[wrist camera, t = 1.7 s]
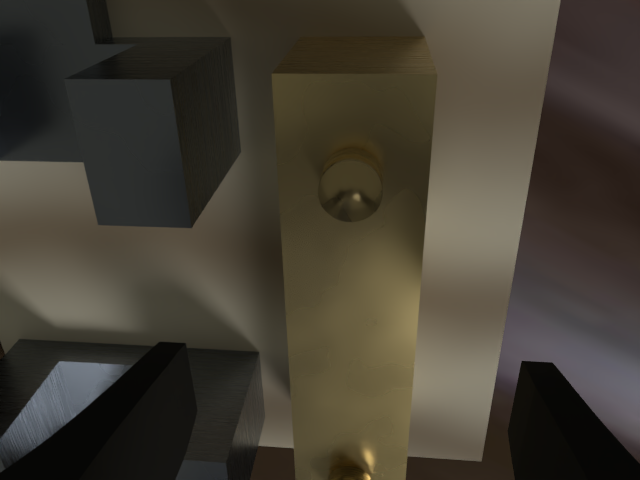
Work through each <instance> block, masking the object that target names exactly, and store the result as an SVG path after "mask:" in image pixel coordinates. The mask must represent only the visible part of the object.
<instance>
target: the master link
mask: <svg viewBox="0 0 640 480" xmlns="http://www.w3.org/2000/svg"><path fill="white" fill-rule="evenodd" d="M271 75H272V92H273V108H274V125H275V142H276V158H277V175H278V192H279V208H280V225H281V242H282V258H283V275H284V292H285V308H286V325H287V342H288V359H289V375H290V392H291V409H292V425H293V442H294V459H295V475H296V480H405V478H406V466H407V453H408V440H409V428H410V415H411V403H412V390H413V377H414V365H415V352H416V339H417V327H418V314H419V301H420V289H421V276H422V264H423V251H424V238H425V226H426V213H427V200H428V188H429V175H430V163H431V150H432V137H433V125H434V112H435V99H436V87H437V71H436V68H435V65H434V62H433V60H432V57H431V54H430V51H429V48H428V45H427V42H426V39H425V36H384V37H300V38H299V39H298V41H297V42H296V43H295V44H294V46H293V47H292V48H291V49H290V51H289V52H288V53H287V55H286V56H285V57H284V58H283V60H282V61H281V62H280V63H279V65H278V66H277V67H276V68H275V70H274V71H273V72H272V74H271Z"/></svg>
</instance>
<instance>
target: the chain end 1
mask: <svg viewBox="0 0 640 480" xmlns="http://www.w3.org/2000/svg"><path fill="white" fill-rule="evenodd" d="M240 153H241V145H240V134H239V123H238V112H237V101H236V90H235V79H234V68H233V58H232V47H231V37H113V36H112V30H111V25H110V19H109V14H108V9H107V3H106V0H0V161H39V162H83V163H84V167H85V171H86V176H87V180H88V184H89V189H90V193H91V197H92V201H93V206H94V210H95V214H96V218H97V223H98V225H106V226H137V227H169V228H192V227H193V225H194V224H195V222H196V221H197V219H198V218H199V216H200V215H201V213H202V211H203V210H204V208H205V207H206V205H207V204H208V202H209V201H210V199H211V198H212V196H213V195H214V193H215V191H216V190H217V188H218V187H219V185H220V184H221V182H222V181H223V179H224V178H225V176H226V175H227V173H228V171H229V170H230V168H231V167H232V165H233V164H234V162H235V161H236V159H237V158H238V156H239V154H240Z"/></svg>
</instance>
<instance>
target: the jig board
mask: <svg viewBox="0 0 640 480" xmlns="http://www.w3.org/2000/svg"><path fill="white" fill-rule="evenodd" d="M106 3H107V9H108V14H109V19H110V25H111V30H112V36H113V37H231V47H232V58H233V68H234V79H235V90H236V101H237V112H238V123H239V134H240V145H241V153H240V154H239V156H238V158H237V159H236V161H235V162H234V164H233V165H232V167H231V168H230V170H229V171H228V173H227V175H226V176H225V178H224V179H223V181H222V182H221V184H220V185H219V187H218V188H217V190H216V191H215V193H214V195H213V196H212V198H211V199H210V201H209V202H208V204H207V205H206V207H205V208H204V210H203V211H202V213H201V215H200V216H199V218H198V219H197V221H196V222H195V224H194V225H193V227H192V228H169V227H137V226H106V225H98V223H97V218H96V214H95V210H94V206H93V201H92V197H91V193H90V189H89V184H88V180H87V176H86V171H85V167H84V163H83V162H39V161H0V342H1V344H2V347H3V350H4V352H5V354H6V353H7V352H8V351H9V350H10V349H11V348H12V346H13V345H14V344H15V343H16V342H17V341H18V340H19V339H31V340H50V341H68V342H87V343H106V344H124V345H143V346H155V345H156V344H157V343H158V342H176V343H186V346H187V348H199V349H218V350H236V351H255V352H259V353H260V364H261V375H262V386H263V397H264V408H265V420H264V424H263V428H262V432H261V436H260V440H259V444H258V446H271V447H285V448H294V442H293V425H292V409H291V392H290V375H289V359H288V342H287V325H286V308H285V292H284V275H283V258H282V242H281V225H280V208H279V192H278V175H277V158H276V142H275V125H274V108H273V92H272V75H271V74H272V72H273V71H274V70H275V68H276V67H277V66H278V65H279V63H280V62H281V61H282V60H283V58H284V57H285V56H286V55H287V53H288V52H289V51H290V49H291V48H292V47H293V46H294V44H295V43H296V42H297V41H298V39H299V38H300V37H384V36H425V39H426V42H427V45H428V48H429V51H430V54H431V57H432V60H433V62H434V65H435V68H436V71H437V87H436V99H435V112H434V125H433V137H432V150H431V163H430V175H429V188H428V200H427V213H426V226H425V238H424V251H423V264H422V276H421V289H420V301H419V314H418V327H417V339H416V352H415V365H414V377H413V390H412V403H411V415H410V428H409V440H408V453H407V456H413V457H427V458H441V459H456V460H470V461H482V455H483V449H484V443H485V437H486V431H487V426H488V420H489V414H490V408H491V402H492V397H493V391H494V385H495V379H496V373H497V367H498V362H499V356H500V350H501V344H502V338H503V332H504V327H505V321H506V315H507V309H508V303H509V297H510V292H511V286H512V280H513V274H514V268H515V262H516V257H517V251H518V245H519V239H520V233H521V227H522V222H523V216H524V210H525V204H526V198H527V193H528V187H529V181H530V175H531V169H532V163H533V158H534V152H535V146H536V140H537V134H538V128H539V123H540V117H541V111H542V105H543V99H544V93H545V88H546V82H547V76H548V70H549V64H550V58H551V53H552V47H553V41H554V35H555V29H556V23H557V18H558V12H559V6H560V0H106Z"/></svg>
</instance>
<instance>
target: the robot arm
mask: <svg viewBox="0 0 640 480" xmlns="http://www.w3.org/2000/svg"><path fill="white" fill-rule="evenodd" d="M197 411H198V410H197V404H196V398H195V393H194V387H193V381H192V375H191V369H190V364H189V358H188V352H187V346H186V343H176V342H158V343H157V344H156V345H155V346H154V347H153V348H152V349H151V350H149V351H148V352H147V353H146V354H145V355H144V356H143V357H142V358H141V359H139V360H138V361H137V362H136V363H135V364H134V365H133V366H132V367H131V368H130V369H129V370H128V371H126V372H125V373H124V374H123V375H122V376H121V377H120V378H119V379H118V380H117V381H115V382H114V383H113V384H112V385H111V386H110V387H109V388H108V389H107V390H105V391H104V392H103V393H102V394H101V395H100V396H99V397H97V398H96V399H95V400H94V401H93V402H92V403H91V404H90V405H88V406H87V407H86V408H85V409H84V410H82V411H81V412H80V413H79V414H78V415H76V416H75V417H74V418H73V419H71V420H70V421H69V422H68V423H66V424H65V425H64V426H63V427H62V428H60V429H59V430H58V431H57V432H55V433H54V434H53V435H52V436H50V437H49V438H48V439H47V440H45V441H44V442H43V443H41V444H40V445H39V446H37V447H36V448H34V449H33V450H32V451H30V452H29V453H28V454H26V455H25V456H23V457H22V458H20V459H19V460H18V461H16V462H15V463H13V464H12V465H10V466H9V467H8V468H6V469H5V470H3V471H2V472H0V480H175V479H176V477H177V475H178V472H179V470H180V467H181V465H182V462H183V460H184V457H185V455H186V451H187V448H188V444H189V441H190V438H191V434H192V430H193V426H194V423H195V419H196V415H197ZM508 436H509V443H510V450H511V457H512V463H513V470H514V476H515V480H640V464H639V463H638V462H637V461H636V459H635V458H634V457H633V456H632V455H631V454H630V453H629V452H628V451H627V450H626V449H625V448H624V446H623V445H622V444H621V443H620V442H619V441H618V440H617V439H616V437H615V436H614V435H613V434H612V433H611V432H610V431H609V430H608V429H607V427H606V426H605V425H604V424H603V423H602V422H601V421H600V419H599V418H598V417H597V416H596V415H595V413H594V412H593V411H592V410H591V409H590V408H589V406H588V405H587V404H586V403H585V402H584V400H583V399H582V398H581V397H580V395H579V394H578V393H577V392H576V391H575V389H574V388H573V387H572V386H571V384H570V383H569V382H568V381H567V380H566V378H565V377H564V376H563V375H562V373H561V372H560V371H559V370H558V369H557V367H556V366H555V365H554V364H553V363H550V362H531V361H522V363H521V368H520V373H519V378H518V383H517V388H516V393H515V398H514V403H513V408H512V413H511V418H510V423H509V428H508Z"/></svg>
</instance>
